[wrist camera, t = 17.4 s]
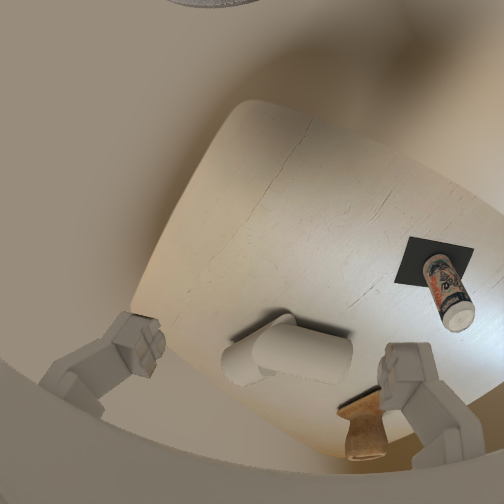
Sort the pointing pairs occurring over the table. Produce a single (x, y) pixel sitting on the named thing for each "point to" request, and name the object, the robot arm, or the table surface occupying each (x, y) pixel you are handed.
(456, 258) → the mat
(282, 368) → the l-shaped cylinder
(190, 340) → the table surface
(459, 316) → the beer can
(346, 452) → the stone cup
